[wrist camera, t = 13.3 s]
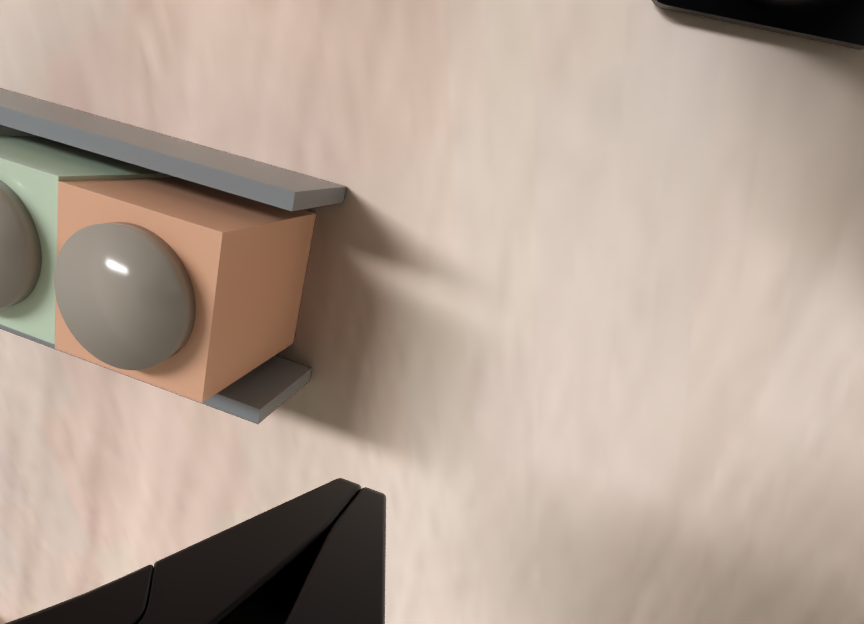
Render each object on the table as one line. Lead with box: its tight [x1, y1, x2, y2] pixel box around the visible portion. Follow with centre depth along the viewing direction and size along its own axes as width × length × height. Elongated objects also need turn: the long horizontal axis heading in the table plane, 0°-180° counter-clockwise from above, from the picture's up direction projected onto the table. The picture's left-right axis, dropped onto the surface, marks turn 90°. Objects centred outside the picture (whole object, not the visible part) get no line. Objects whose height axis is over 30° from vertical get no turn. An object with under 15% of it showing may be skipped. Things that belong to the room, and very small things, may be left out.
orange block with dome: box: [54, 177, 316, 403], centre depth 19 cm, size 6×6×7 cm
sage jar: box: [0, 135, 175, 344], centre depth 20 cm, size 6×6×7 cm
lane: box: [0, 88, 346, 424], centre depth 21 cm, size 16×8×4 cm, turn 76°
